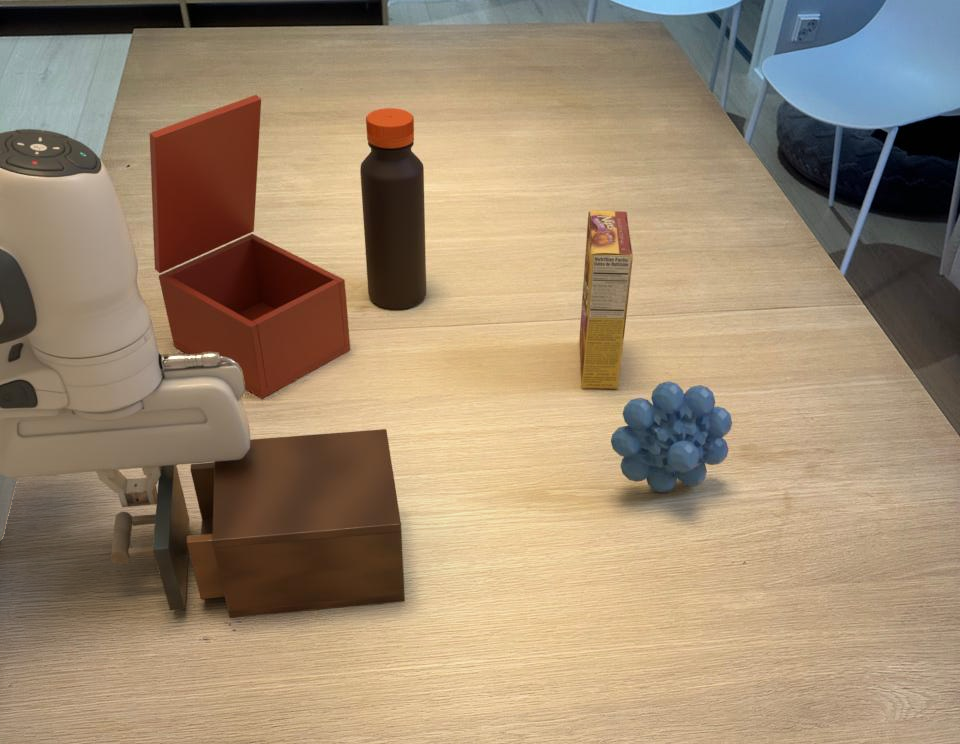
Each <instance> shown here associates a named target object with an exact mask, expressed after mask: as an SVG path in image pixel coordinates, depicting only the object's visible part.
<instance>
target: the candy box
mask: <svg viewBox="0 0 960 744" xmlns="http://www.w3.org/2000/svg"><path fill="white" fill-rule="evenodd" d="M585 240H586V242H585V257H584V271H583V284H582V295H581V297H582V298H581V309H580V310H581V312H580V325H579V326H580V327H579V339H578V341H579V343H578V345H579V358H580V359H579V361H580V389H588V390H589V389H592V390H593V389H594V390H618V389H619V382H620V373H621V368H622V367H621V366H622V357H623V347H624V340H625V330H626V322H627V313H628V312H627V311H628V304H629V296H630V295H629V294H630V287H631V277H632V269H633V262H634V261H633V260H634V259H633V258H634V252H633V247H632V240H631V233H630V227H629V221H628V212H627V211H619V210H618V211H616V210H592V211H591V210H589V212H588V214H587V226H586V239H585Z"/></svg>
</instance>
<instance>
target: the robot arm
mask: <svg viewBox="0 0 960 744" xmlns="http://www.w3.org/2000/svg"><path fill="white" fill-rule="evenodd" d="M138 265H139V264H138V257H137V253H136V249H135V246H134V243H133V239H132V234H131V231H130V227H129V223H128V220H127V217H126V214H125V211H124V208H123V205H122V202H121V199H120V197H119V194H118V191H117V188H116V186H115V183H114V181H113V179H112V177H111V175H110V173H109V171H108V169H107V168H106V166H105V164H104V163H103V161H102V160H101V158H100V157H99V156H98V155H97V154H96V152H94V151H93V150H92V149H91V148H90V147H88V146H87V145H86V144H84V143H83V142H81V141H78V140H77V139H74V138H72V137H69V136H68V135H66V134H62V133H59V132H55V131H51V130H45V129H37V128H35V129H33V128H21V129H20V128H19V129H15V130H8V131H3V132H0V475H2V476H3V477H5V478H8V479H19V478H33V477H44V476H57V475H67V474H80V473H91V472H96V475H97V477H98V480H99V481H100V482H101V483H103V484H104V485H105V486H107V487H108V488H109V489H110V490H112V492H114V493H115V494H117V495H118V499H119V502H120V505H121V507H122V508H131V507H133V508H134V507H140V506H155V505H156V506H157V494H158V488H157V485H158V482H159V478H160V476H161V470H162V466H168V465H176V466H179V465H180V466H181V465H191V464H199V463H211V462H217V461H230V460H239V459H242V458H243V457H244V456H245V455H246V453H247V452H248V450H249V449H250V440H251V429H250V423H249V418H248V413H247V411H246V407H245V405H244V401H243V397H244V394H245V392H246V389H245V382H244V376H243V371H242V369H241V367H240V366H239V364H238V363H237V362H235V361H234V360H233V359H231V358H228V357H225V356H220V353H219V352H212V351H209V352H202V353H199V354H186V353H166V354H161V353H160V351H159V345H158V341H157V338H156V333H155V329H154V325H153V320H152V317H151V313H150V310H149V306H148V305H147V303H146V302H145V300H144V299H143V296H142V294H141V292H140V290H139V286H138V270H139V269H138V267H139V266H138ZM221 361H222V362H223V363H221ZM140 468H141V469H142V470H141V471H142V473H143V475H144V476H145V477H140V478H127V477H126V476H125V475H124V474H123V473H122V472H121V471H120V470H129V469H140Z"/></svg>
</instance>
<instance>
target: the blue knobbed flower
mask: <svg viewBox="0 0 960 744" xmlns="http://www.w3.org/2000/svg"><path fill="white" fill-rule="evenodd" d="M650 397H651V398H650V399H651V401H650V400H648V399H646V398H643V397H638V398H633V399H630V400H629V401H628V402H627V403H626V404H625V405H624V407H623V410H622V418H623V420H624V422H625V424H626V425H623V426H619V427H617V429H616V430H615V431H614V432H613V433H612V435H611V438H610V444H611V447H612V450H613V451H614V452H615V453H616V454H617V455H619V456H620V457H622V459H621V460H620V461H621V462H620V465H619V466H620V469H621V473H622V475H623V476H624V477H625V478H627V480H629V481H632V482H635V483H637V482H642V481H645V480H646V483H647V485H648V486H649V487H650V488H651V489H652V490H653V491H654V492H658V493H662V494H663V493H669V492H670V491H672V490H673V489H674V487H675V486H676V485H677V481H678V480H679V482H681V483H682V485H685V486H688V487H694V486H698V485H700V484H701V483H703V482H704V480H705V479H706V477H707V473H708V469H707V466H706V465H709V466H717V465H719V464H721V463H723V462H724V461H725V460H726V458H727V457H728V454H729V447H728V442H727V441H726V440H725V439H724V437H725V436H726V435H728V434H729V433H730V431H731V430H732V426H733V420H732V415H731V413H730V412H729V411H728V410H727V409H726V408H725V407H721V406H715V405H716V399H715V395H714V392H713V391H712V390H711V389H710V388H709V387H708V386H705V385H702V384H700V385H699V384H698V385H694V386H691V387H689V388H688V389H687V390H686V391H685V392H684V390H683V388H682V387H681V386H680V385H679V384H678V383H676V382H673V381H665V382H660V383H658V384H657V386H655V388H654V389H653V390H652V394H651V396H650Z"/></svg>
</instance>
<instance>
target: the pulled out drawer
mask: <svg viewBox="0 0 960 744" xmlns="http://www.w3.org/2000/svg"><path fill="white" fill-rule="evenodd" d="M190 474H191V479H192V483H193V487H194V492H195V495H196V496H195V497H196V501H197V505H198V509H199V513H200V518H201V533H200V534H197V535H196V534H193V535H189V534H190V516H189V512H188V508H187V504H186V498H185V495H184V491H183V487H182V483H181V479H180V474H179V471H178V465H168V466H162V470H161V476H160V478H159V480H158V482H157V504H156V508H155V514H143V515H142V514H141V515H131V513H129V512H128V511H127V512H126V511H120V512H117V513H116V515H115V518H114V527H113V534H112V541H111V543H112V544H111V550H110V559H111V561H112V562H113V563H115V564H118V565H123V564H126V563H127V562H128V561H129V559H130V558H142V557H143V558H144V557H153V556H154V559H155V563H156V565H157V569H158V573H159V577H160V580H161V583H162V586H163V590H164V593H165V597H166V601H167V605H168V608H169V611H181V610H185V609H186V595H187V594H186V593H187V575H188V573H187V572H188V557H189V558H190V562H191V565H192V570H193V574H194V578H195V581H196V582H195V583H196V585H197V589H198V590H197V591H198V595H199V598H200V599H202V600H205V599H214V598H225V595H224V591H223V586H222V582H221V577H220V573H219V569H218V564H217V560H216V555H215V551H214V546H213V542H212V532H213V496H214V462H205V463H193V464H190ZM145 525H154V530H153V541H152V545H149V546H137V547H131V542H132V531H133V527H134V526H145ZM188 555H189V556H188Z"/></svg>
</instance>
